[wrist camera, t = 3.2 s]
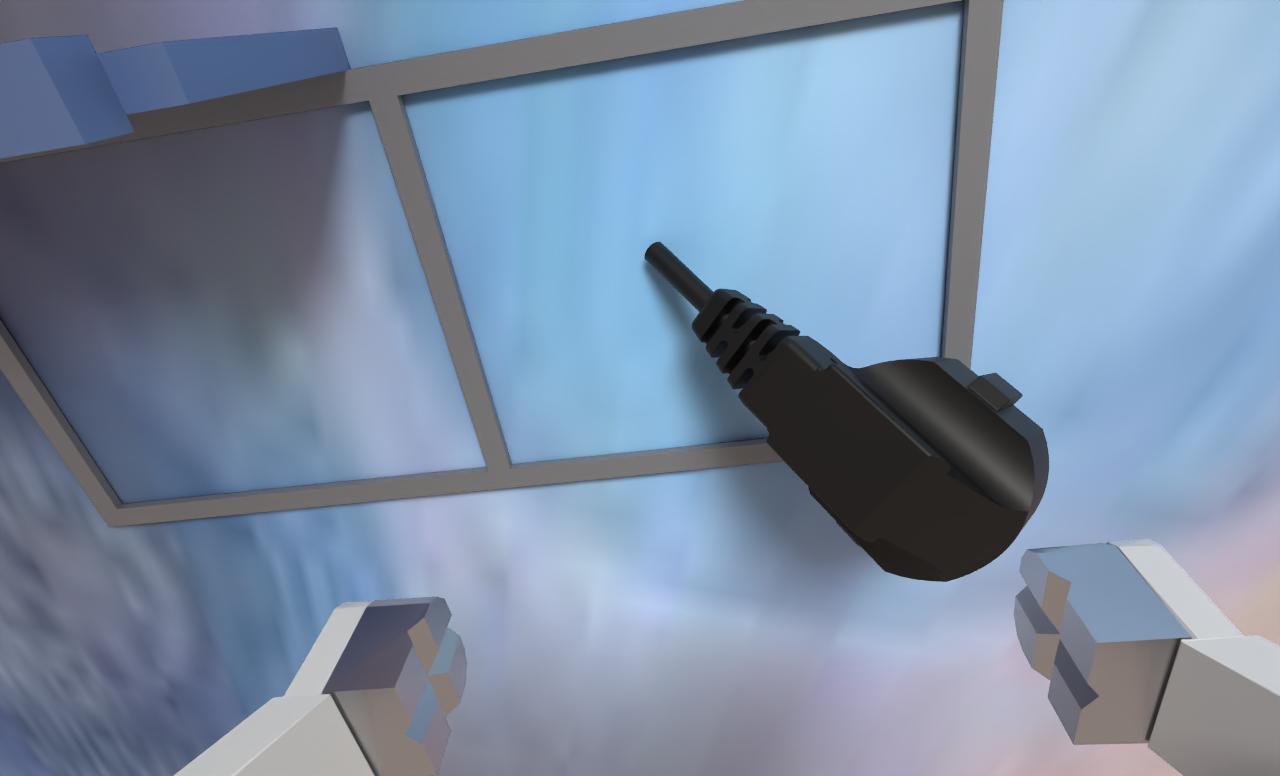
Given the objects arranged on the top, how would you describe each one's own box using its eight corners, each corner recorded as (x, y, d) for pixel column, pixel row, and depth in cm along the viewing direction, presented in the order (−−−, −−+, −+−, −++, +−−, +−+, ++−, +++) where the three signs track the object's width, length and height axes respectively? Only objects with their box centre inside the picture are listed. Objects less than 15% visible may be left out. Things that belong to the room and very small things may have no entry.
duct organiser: (-168, 107, 19) (-655, 169, 12) (1007, -111, 16) (1281, -202, 9) (114, 521, 27) (-89, 711, 20) (960, 438, 23) (1087, 633, 16)
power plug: (690, 161, 18) (1086, 494, 13) (806, 204, 24) (1109, 445, 19) (589, 325, 21) (890, 657, 16) (717, 328, 27) (964, 569, 22)
